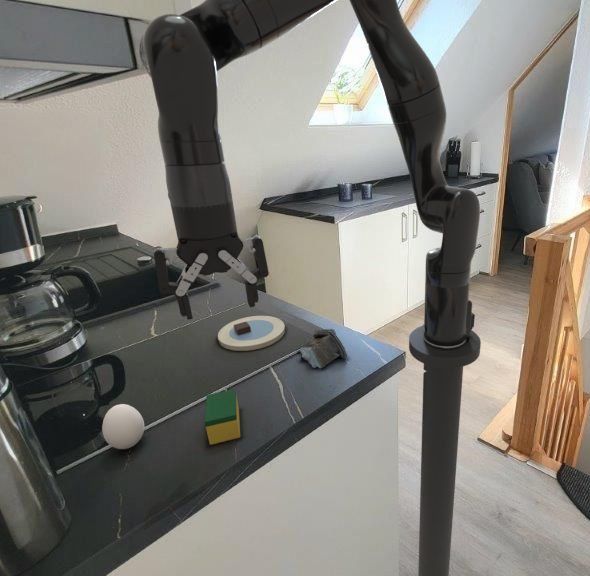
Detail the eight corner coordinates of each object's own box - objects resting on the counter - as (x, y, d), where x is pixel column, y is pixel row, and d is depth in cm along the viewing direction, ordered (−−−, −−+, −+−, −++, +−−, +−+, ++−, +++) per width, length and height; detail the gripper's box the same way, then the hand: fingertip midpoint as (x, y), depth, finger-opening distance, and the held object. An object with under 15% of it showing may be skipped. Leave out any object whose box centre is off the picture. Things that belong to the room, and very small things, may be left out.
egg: (128, 461, 60) (114, 421, 57) (101, 453, 61) (86, 414, 58) (156, 436, 64) (145, 398, 61) (130, 430, 66) (118, 392, 63)
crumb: (247, 326, 96) (246, 321, 95) (251, 331, 94) (250, 326, 93) (234, 330, 94) (233, 324, 94) (238, 335, 92) (237, 329, 91)
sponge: (211, 416, 68) (206, 394, 67) (239, 410, 70) (235, 388, 68) (209, 445, 62) (204, 422, 61) (240, 437, 64) (235, 414, 62)
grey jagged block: (288, 351, 88) (293, 335, 78) (314, 332, 92) (322, 315, 81) (315, 385, 87) (324, 373, 77) (340, 365, 91) (352, 351, 80)
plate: (281, 315, 104) (280, 311, 103) (289, 343, 91) (288, 338, 90) (219, 325, 99) (218, 321, 99) (217, 356, 86) (216, 351, 86)
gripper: (138, 209, 47) (168, 333, 53) (263, 198, 53) (276, 310, 59) (140, 199, 53) (166, 311, 59) (251, 191, 59) (265, 293, 65)
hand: (221, 311), depth 59 cm, fingers open, 8 cm apart
